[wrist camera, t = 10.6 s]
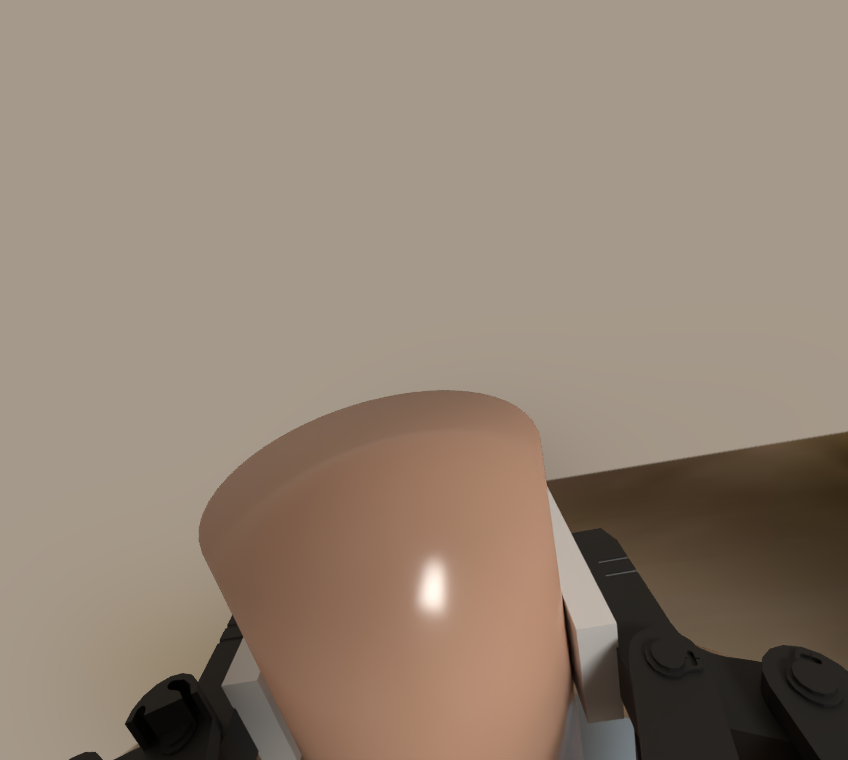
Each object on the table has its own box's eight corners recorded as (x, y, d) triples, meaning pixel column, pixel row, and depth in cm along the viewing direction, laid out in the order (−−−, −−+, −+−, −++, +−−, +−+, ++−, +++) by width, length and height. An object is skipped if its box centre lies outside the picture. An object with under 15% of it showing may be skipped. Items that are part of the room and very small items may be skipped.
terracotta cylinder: (616, 735, 12) (585, 396, 8) (542, 1107, 7) (399, 685, 4) (438, 645, 16) (365, 386, 12) (313, 848, 11) (136, 521, 7)
